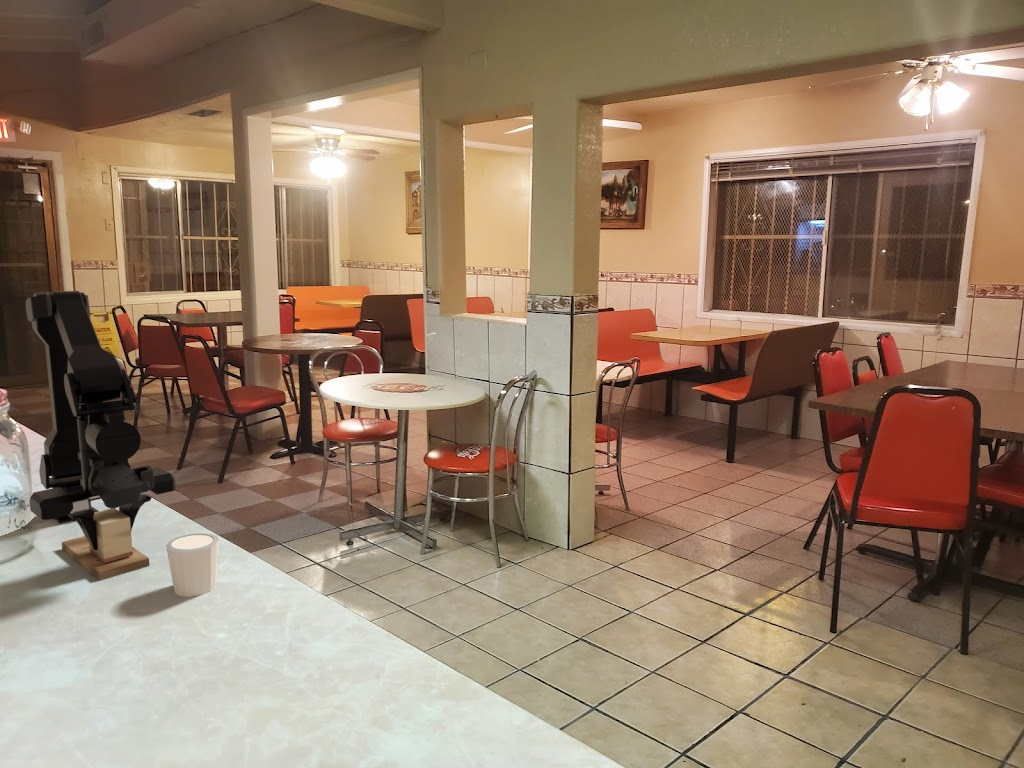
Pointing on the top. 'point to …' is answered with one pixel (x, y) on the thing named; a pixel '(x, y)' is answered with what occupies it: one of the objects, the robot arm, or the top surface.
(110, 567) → the board
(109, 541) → the block
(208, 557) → the white cup
